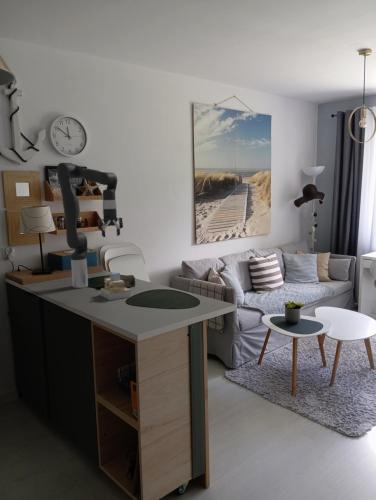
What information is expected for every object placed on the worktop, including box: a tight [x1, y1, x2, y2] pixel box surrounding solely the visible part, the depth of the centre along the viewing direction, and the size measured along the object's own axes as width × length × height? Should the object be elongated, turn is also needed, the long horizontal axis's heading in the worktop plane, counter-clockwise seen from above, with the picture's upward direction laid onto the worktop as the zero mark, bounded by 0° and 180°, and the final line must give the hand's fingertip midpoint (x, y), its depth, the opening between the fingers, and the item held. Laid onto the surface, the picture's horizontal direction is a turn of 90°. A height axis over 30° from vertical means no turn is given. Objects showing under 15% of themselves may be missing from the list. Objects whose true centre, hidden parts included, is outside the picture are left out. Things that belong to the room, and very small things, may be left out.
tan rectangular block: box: [104, 278, 126, 292], centre depth 226 cm, size 14×6×5 cm, turn 33°
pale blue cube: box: [109, 271, 121, 281], centre depth 224 cm, size 4×4×4 cm
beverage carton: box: [102, 274, 136, 288], centre depth 249 cm, size 8×19×7 cm, turn 104°
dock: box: [100, 287, 131, 301], centre depth 225 cm, size 13×12×4 cm
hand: (111, 236), depth 233 cm, fingers open, 8 cm apart
